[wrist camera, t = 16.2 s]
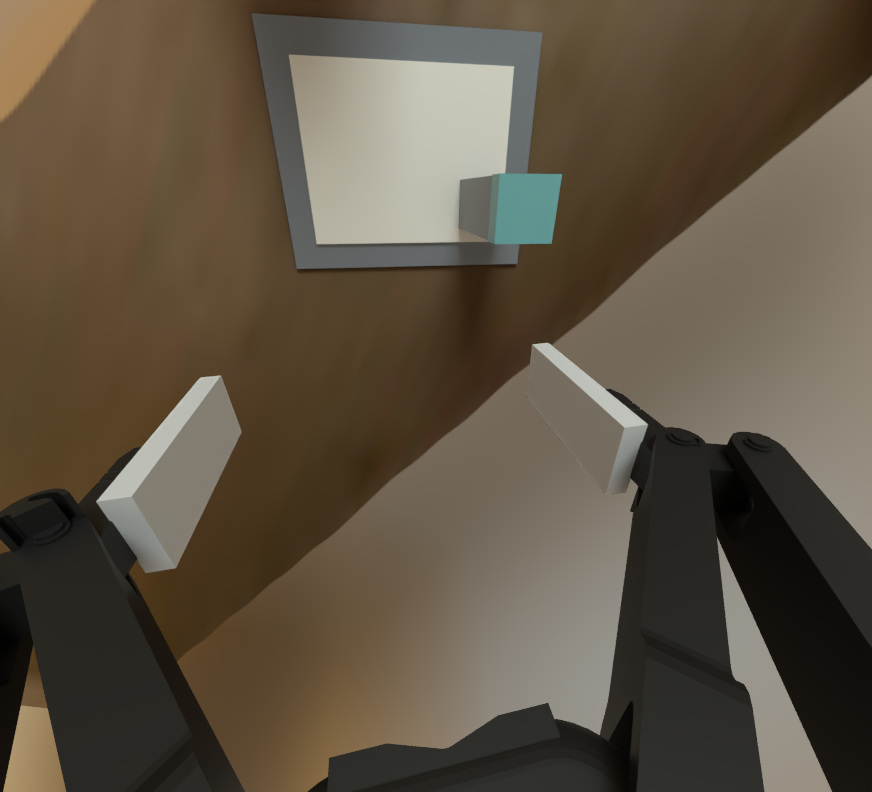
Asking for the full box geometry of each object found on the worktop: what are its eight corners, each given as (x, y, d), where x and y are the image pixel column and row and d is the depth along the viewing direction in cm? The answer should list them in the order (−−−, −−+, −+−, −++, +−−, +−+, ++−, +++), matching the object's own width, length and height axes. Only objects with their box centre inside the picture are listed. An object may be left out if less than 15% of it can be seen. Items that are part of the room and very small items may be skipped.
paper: (297, 268, 32) (296, 269, 31) (252, 15, 24) (250, 11, 23) (516, 263, 34) (518, 264, 34) (540, 34, 27) (543, 31, 26)
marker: (457, 228, 32) (494, 244, 22) (459, 178, 30) (500, 173, 20) (498, 228, 32) (551, 243, 23) (502, 179, 30) (562, 174, 21)
